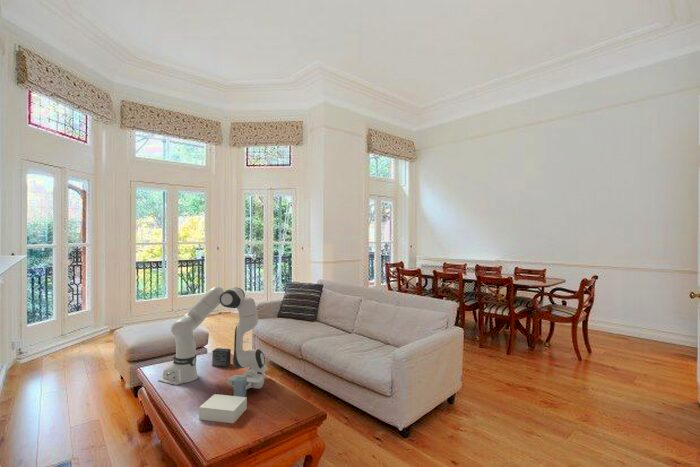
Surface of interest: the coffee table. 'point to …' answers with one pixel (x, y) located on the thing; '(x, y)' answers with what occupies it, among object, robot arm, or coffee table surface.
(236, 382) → the slate block
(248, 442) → the coffee table surface
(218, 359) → the small box
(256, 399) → the coffee table surface
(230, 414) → the base
